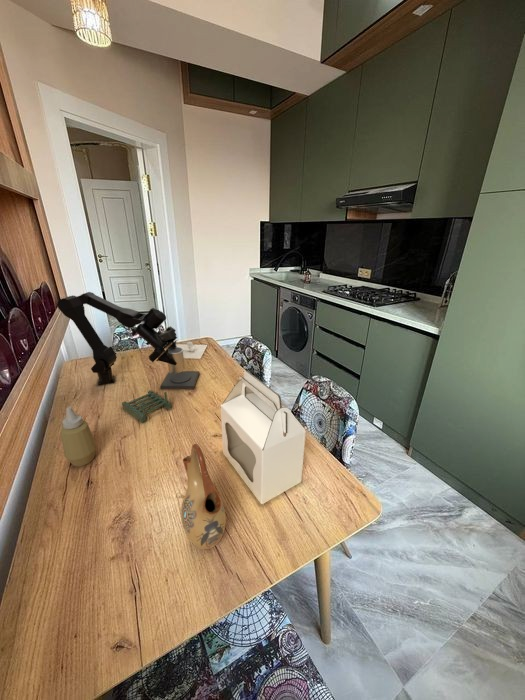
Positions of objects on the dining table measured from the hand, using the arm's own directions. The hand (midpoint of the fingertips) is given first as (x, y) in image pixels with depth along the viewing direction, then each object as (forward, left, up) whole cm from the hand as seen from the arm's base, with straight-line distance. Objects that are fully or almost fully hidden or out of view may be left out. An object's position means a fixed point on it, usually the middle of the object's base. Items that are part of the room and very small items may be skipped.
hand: (179, 361), depth 123 cm
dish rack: (+13, -16, -11) cm, 23 cm away
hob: (-3, 0, -11) cm, 12 cm away
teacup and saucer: (-37, +10, -12) cm, 40 cm away
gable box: (+58, +10, -11) cm, 60 cm away
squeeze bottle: (+33, -36, -11) cm, 50 cm away
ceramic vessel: (+71, -10, -11) cm, 73 cm away
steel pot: (-1, -1, -4) cm, 4 cm away
